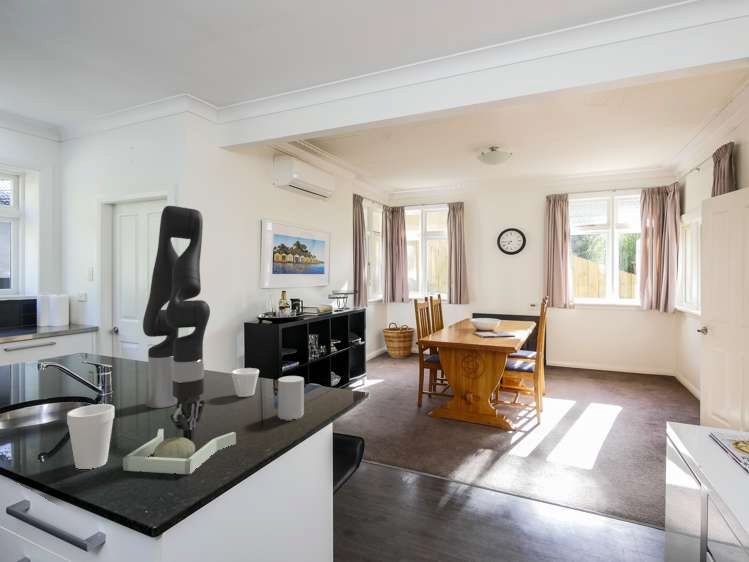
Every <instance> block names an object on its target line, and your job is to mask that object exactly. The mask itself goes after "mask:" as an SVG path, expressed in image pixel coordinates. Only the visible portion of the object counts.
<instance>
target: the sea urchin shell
mask: <svg viewBox="0 0 749 562" xmlns="http://www.w3.org/2000/svg"><path fill="white" fill-rule="evenodd" d="M195 453H196V445H195V443H194V441H193V442H192V441H190V440H188V439H186V438H183V436H182V437H181V436H180V437H179V436H176V437H169V438H167V439H163V441H162V442H160V443H159V444H158V446H157V447H156V448H155V450H154V454H153V457H164V458H182V459H188V458H190V457H191V456H192V455H193V454H195Z"/></svg>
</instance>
